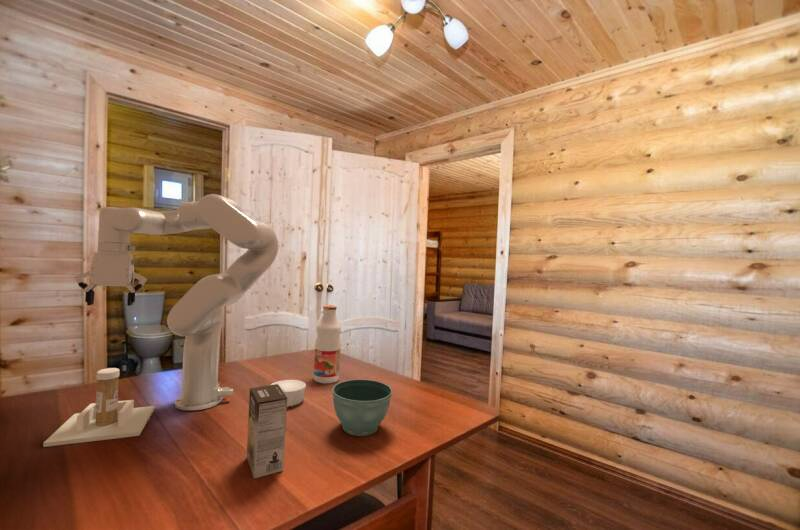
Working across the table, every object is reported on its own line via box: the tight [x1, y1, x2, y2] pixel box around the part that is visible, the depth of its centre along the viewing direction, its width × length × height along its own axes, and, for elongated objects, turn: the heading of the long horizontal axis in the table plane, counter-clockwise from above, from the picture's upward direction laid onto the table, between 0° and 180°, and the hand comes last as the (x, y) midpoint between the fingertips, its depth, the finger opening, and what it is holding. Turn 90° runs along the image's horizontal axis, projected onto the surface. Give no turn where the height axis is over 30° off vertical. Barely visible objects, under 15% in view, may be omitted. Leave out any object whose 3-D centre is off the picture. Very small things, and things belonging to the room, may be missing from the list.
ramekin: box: [270, 379, 307, 408], centre depth 113 cm, size 11×11×5 cm
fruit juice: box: [313, 304, 342, 384], centre depth 135 cm, size 9×9×28 cm
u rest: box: [42, 399, 156, 448], centre depth 92 cm, size 18×16×4 cm
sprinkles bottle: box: [95, 367, 120, 425], centre depth 92 cm, size 5×5×14 cm
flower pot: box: [332, 379, 393, 437], centre depth 98 cm, size 16×16×11 cm
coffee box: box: [246, 384, 288, 479], centre depth 79 cm, size 9×6×16 cm
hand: (110, 304), depth 108 cm, fingers open, 9 cm apart
